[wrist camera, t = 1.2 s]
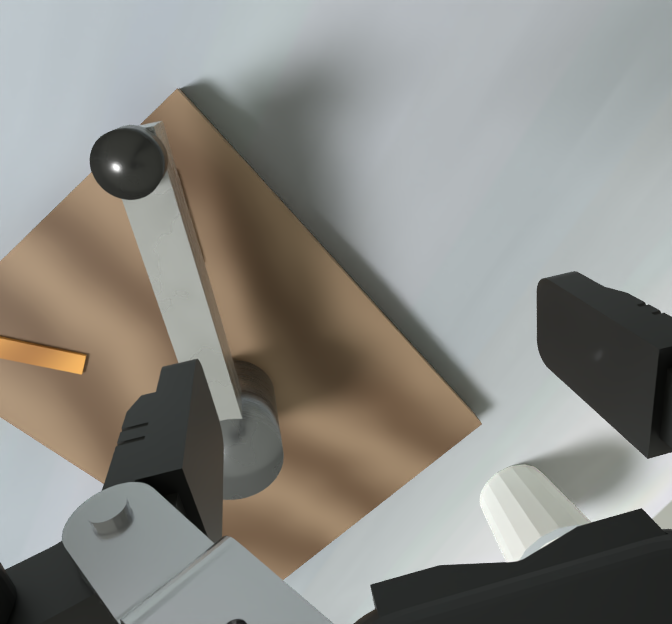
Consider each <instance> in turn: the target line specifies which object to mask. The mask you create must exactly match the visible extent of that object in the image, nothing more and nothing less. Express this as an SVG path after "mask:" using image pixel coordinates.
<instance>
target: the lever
mask: <svg viewBox="0 0 672 624" xmlns="http://www.w3.org/2000/svg"><path fill="white" fill-rule="evenodd" d="M90 167H91V171H92V174H93V176H94V178H95V180H96V182H97V183H98V184H99V185H100V186H101V188H102V189H104V190H105V191H106V192H107V193H109V194H111V195H112V196H114V197H117V198H120V199H122V201H123V204H124V207H125V210H126V213H127V216H128V219H129V222H130V224H131V227H132V230H133V233H134V236H135V239H136V242H137V245H138V248H139V250H140V253H141V256H142V259H143V262H144V265H145V268H146V271H147V273H148V276H149V279H150V282H151V285H152V288H153V291H154V294H155V297H156V299H157V302H158V305H159V308H160V311H161V314H162V317H163V320H164V323H165V325H166V328H167V331H168V334H169V337H170V340H171V343H172V346H173V349H174V351H175V354H176V357H177V360H178V363H180V362H185V361H189V360H193V359H198V360H199V361H200V363H201V365H202V367H203V370H204V374H205V377H206V380H207V383H208V386H209V389H210V392H211V395H212V399H213V402H214V405H215V408H216V411H217V414H218V417H219V421H220V425H221V429H222V435H223V442H224V465H223V500H236V499H243V498H247V497H250V496H253V495H255V494H257V493H259V492H261V491H263V490H264V489H265V488H267V487H268V486H269V485H270V484H271V483H272V482H273V481H274V480H275V479H276V478H277V476H278V474H279V473H280V471H281V468H282V465H283V459H284V453H283V446H282V439H281V433H280V426H279V419H278V412H277V405H276V398H275V391H274V386H273V383H272V381H271V379H270V378H269V376H268V375H267V374H266V373H265V372H264V371H263V370H262V369H261V368H259V367H258V366H256V365H254V364H252V363H249V362H245V361H240V360H233V358H232V355H231V351H230V348H229V344H228V341H227V338H226V334H225V331H224V327H223V324H222V321H221V317H220V314H219V310H218V307H217V304H216V300H215V297H214V294H213V290H212V287H211V283H210V280H209V277H208V273H207V270H206V266H205V263H204V260H203V256H202V253H201V249H200V246H199V243H198V239H197V236H196V233H195V229H194V226H193V222H192V219H191V216H190V212H189V209H188V205H187V202H186V199H185V195H184V192H183V189H182V185H181V182H180V178H179V175H178V172H177V168H176V165H175V161H174V158H173V155H172V151H171V148H170V144H169V141H168V138H167V134H166V131H165V128H164V124H163V121H159V122H154V123H148V124H143V125H138V126H135V125H127V126H123V127H120V128H117V129H115V130H113V131H110V132H108V133H106V134H104V135H102V136H100V138H99V139H98V140H97V141H96V142H95V144H94V146H93V148H92V150H91V154H90Z"/></svg>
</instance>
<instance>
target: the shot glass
mask: <svg viewBox="0 0 672 624" xmlns="http://www.w3.org/2000/svg"><path fill="white" fill-rule="evenodd" d="M480 506H481V508H482V510H483V513H484V515H485V517H486V519H487V522H488V524H489V526H490V528H491V530H492V533H493V535H494V537H495V539H496V541H497V544H498V546H499V548H500V550H501V552H502V555H503V557H504V559H505V561H506V562H515V561H519V560H522V559H524V558H526V557H528V556H529V555H531V554H533V553H534V552H536V551H538V550H539V549H541V548H543V547H544V546H546V545H548V544H549V543H551V542H553V541H554V540H556V539H557V538H559V537H561V536H562V535H564V534H566V533H567V532H569V531H571V530H572V529H574V528H576V527H577V526H581V525H584V524H588V523H591V521H590V520H589V519H588V518H587V517H586V516H585V515H584V514H583V513H582V512H581V511H580V510H579V509H578V508H577V507H576V506H575V505H574V504H573V503H572V502H571V501H570V500H569V499H568V498H567V497H566V496H565V495H564V494H563V493H562V492H561V491H560V490H559V489H558V488H557V487H556V486H555V485H554V484H553V483H552V482H551V481H550V480H549V479H548V478H547V477H546V476H545V475H544V474H543V473H542V472H541V471H540V470H538V469H537V468H536V467H534V466H530V465H525V464H521V465H514V466H509V467H507V468H505V469H503V470H501V471H499V472H497V473H496V474H495V475H494V476H493V477H492V478H491V479H489V480H488V481H487V483H486V484H485V486H484V488H483V490H482V491H481V495H480Z"/></svg>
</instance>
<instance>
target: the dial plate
mask: <svg viewBox="0 0 672 624" xmlns="http://www.w3.org/2000/svg"><path fill="white" fill-rule="evenodd" d="M159 121H163V124H164V128H165V131H166V134H167V138H168V141H169V144H170V148H171V151H172V155H173V158H174V161H175V165H176V168H177V172H178V175H179V178H180V182H181V185H182V189H183V192H184V195H185V199H186V202H187V205H188V209H189V212H190V216H191V219H192V222H193V226H194V229H195V233H196V236H197V239H198V243H199V246H200V249H201V253H202V256H203V260H204V263H205V266H206V270H207V273H208V277H209V280H210V283H211V287H212V290H213V294H214V297H215V300H216V304H217V307H218V310H219V314H220V317H221V321H222V324H223V327H224V331H225V334H226V338H227V341H228V344H229V348H230V351H231V355H232V358H233V360H240V361H245V362H249V363H252V364H254V365H256V366H258V367H259V368H261V369H262V370H263V371H264V372H265V373H266V374H267V375H268V376H269V378H270V379H271V381H272V383H273V386H274V391H275V398H276V405H277V412H278V419H279V426H280V433H281V439H282V446H283V453H284V459H283V465H282V468H281V471H280V473H279V474H278V476H277V478H276V479H275V480H274V481H273V482H272V483H271V484H270V485H269V486H268V487H267V488H265V489H264V490H263V491H261V492H259V493H257V494H255V495H253V496H250V497H247V498H243V499H236V500H223V517H222V537H223V536H230V537H232V538H233V539H235V540H236V541H237V542H239V543H240V544H241V545H242V546H243V547H245V548H246V549H247V550H248V551H249V552H250V553H252V554H253V555H254V556H255V557H256V558H257V559H259V560H260V561H261V562H262V563H263V564H264V565H266V566H267V567H268V568H269V569H270V570H271V571H273V572H274V573H275V574H276V575H277V576H278V577H280V578H281V579H282V580H284V579H285V578H286V577H287V576H289V575H290V574H291V573H293V572H294V571H295V570H296V569H298V568H299V567H300V566H302V565H303V564H304V563H305V562H307V561H308V560H309V559H310V558H312V557H313V556H314V555H316V554H317V553H318V552H319V551H321V550H322V549H323V548H324V547H326V546H327V545H328V544H330V543H331V542H332V541H333V540H335V539H336V538H337V537H339V536H340V535H341V534H342V533H344V532H345V531H346V530H347V529H349V528H350V527H351V526H353V525H354V524H355V523H356V522H358V521H359V520H360V519H361V518H363V517H364V516H365V515H367V514H368V513H369V512H370V511H372V510H373V509H374V508H376V507H377V506H378V505H379V504H381V503H382V502H383V501H384V500H386V499H387V498H388V497H390V496H391V495H392V494H393V493H395V492H396V491H397V490H398V489H400V488H401V487H402V486H404V485H405V484H406V483H407V482H409V481H410V480H411V479H413V478H414V477H415V476H416V475H418V474H419V473H420V472H421V471H423V470H424V469H425V468H427V467H428V466H429V465H430V464H432V463H433V462H434V461H435V460H437V459H438V458H439V457H441V456H442V455H443V454H444V453H446V452H447V451H448V450H450V449H451V448H452V447H453V446H455V445H456V444H457V443H458V442H460V441H461V440H462V439H464V438H465V437H466V436H467V435H469V434H470V433H471V432H472V431H474V430H475V429H476V428H478V427H479V426H480V425H481V424H482V423H481V422H480V420H479V419H478V418H477V416H476V415H475V414H474V412H473V411H472V410H471V409H470V408H469V407H468V406H467V404H466V403H465V402H464V401H463V400H462V399H461V398H460V397H459V396H458V395H457V393H456V392H455V391H454V390H453V389H452V388H451V387H450V386H449V385H448V384H447V382H446V381H445V380H444V379H443V378H442V377H441V376H440V375H439V374H438V373H437V371H436V370H435V369H434V368H433V367H432V366H431V365H430V364H429V363H428V361H427V360H426V359H425V358H424V357H423V356H422V355H421V354H420V353H419V352H418V350H417V349H416V348H415V347H414V346H413V345H412V344H411V343H410V342H409V341H408V339H407V338H406V337H405V336H404V335H403V334H402V333H401V332H400V331H399V330H398V328H397V327H396V326H395V325H394V324H393V323H392V322H391V321H390V320H389V319H388V317H387V316H386V315H385V314H384V313H383V312H382V311H381V310H380V309H379V308H378V306H377V305H376V304H375V303H374V302H373V301H372V300H371V299H370V298H369V297H368V295H367V294H366V293H365V292H364V291H363V290H362V289H361V288H360V287H359V286H358V284H357V283H356V282H355V281H354V280H353V279H352V278H351V277H350V276H349V274H348V273H347V272H346V271H345V270H344V269H343V268H342V267H341V266H340V265H339V263H338V262H337V261H336V260H335V259H334V258H333V257H332V256H331V255H330V254H329V252H328V251H327V250H326V249H325V248H324V247H323V246H322V245H321V244H320V243H319V241H318V240H317V239H316V238H315V237H314V236H313V235H312V234H311V233H310V232H309V230H308V229H307V228H306V227H305V226H304V225H303V224H302V223H301V222H300V221H299V219H298V218H297V217H296V216H295V215H294V214H293V213H292V212H291V211H290V210H289V208H288V207H287V206H286V205H285V204H284V203H283V202H282V201H281V200H280V199H279V197H278V196H277V195H276V194H275V193H274V192H273V191H272V190H271V189H270V188H269V186H268V185H267V184H266V183H265V182H264V181H263V180H262V179H261V178H260V176H259V175H258V174H257V173H256V172H255V171H254V170H253V169H252V168H251V167H250V165H249V164H248V163H247V162H246V161H245V160H244V159H243V158H242V157H241V156H240V154H239V153H238V152H237V151H236V150H235V149H234V148H233V147H232V146H231V145H230V143H229V142H228V141H227V140H226V139H225V138H224V137H223V136H222V135H221V134H220V132H219V131H218V130H217V129H216V128H215V127H214V126H213V125H212V124H211V123H210V121H209V120H208V119H207V118H206V117H205V116H204V115H203V114H202V113H201V112H200V110H199V109H198V108H197V107H196V106H195V105H194V104H193V103H192V102H191V101H190V99H189V98H188V97H187V96H186V95H185V94H184V93H183V92H182V91H181V89H180V88H179V89H176V90H175V91H174V92H173V93H172V94H171V95H170V96H169V97H168V98H167V99H166V100H165V101H164V102H163V103H162V104H161V105H160V106H159V107H158V108H157V109H156V110H155V111H154V112H153V113H152V114H151V115H150V116H149V117H148V118H147V119H145V120H144V121H143V122H142V123H141V124H140V125H143V124H148V123H154V122H159ZM176 363H178V360H177V357H176V354H175V351H174V349H173V346H172V343H171V340H170V337H169V334H168V331H167V328H166V325H165V323H164V320H163V317H162V314H161V311H160V308H159V305H158V302H157V299H156V297H155V294H154V291H153V288H152V285H151V282H150V279H149V276H148V273H147V271H146V268H145V265H144V262H143V259H142V256H141V253H140V250H139V248H138V245H137V242H136V239H135V236H134V233H133V230H132V227H131V224H130V222H129V219H128V216H127V213H126V210H125V207H124V204H123V201H122V199H120V198H117V197H114V196H112V195H111V194H109V193H107V192H106V191H105V190H104V189H102V188H101V186H100V185H99V184H98V183H97V182H96V180H95V178H94V176H93V174H92V172H91V173H90V174H89V175H88V176H87V177H86V178H85V179H84V180H83V181H82V182H81V183H80V184H79V185H78V186H77V187H76V188H75V189H74V190H73V191H72V192H71V193H70V194H69V195H68V196H67V197H66V198H65V199H64V200H63V201H62V202H61V203H60V204H58V205H57V206H56V207H55V208H54V209H53V210H52V211H51V212H50V213H49V214H48V215H47V216H46V217H45V218H44V219H43V220H42V221H41V222H40V223H39V224H38V225H37V226H36V227H35V228H34V229H33V230H32V231H31V232H30V233H29V234H28V235H27V236H26V237H25V238H24V239H23V240H22V241H21V242H20V243H19V244H18V245H17V246H16V247H14V248H13V249H12V250H11V251H10V252H9V253H8V254H7V255H6V256H5V257H4V258H3V259H2V260H1V261H0V417H1V418H3V419H4V420H6V421H7V422H9V423H10V424H12V425H13V426H15V427H17V428H18V429H20V430H21V431H23V432H24V433H26V434H27V435H29V436H30V437H32V438H34V439H35V440H37V441H38V442H40V443H41V444H43V445H44V446H46V447H47V448H49V449H51V450H52V451H54V452H55V453H57V454H58V455H60V456H61V457H63V458H64V459H66V460H68V461H69V462H71V463H72V464H74V465H75V466H77V467H78V468H80V469H81V470H83V471H85V472H86V473H88V474H89V475H91V476H92V477H94V478H95V479H97V480H98V481H100V482H102V483H103V484H104V482H105V479H106V476H107V473H108V470H109V466H110V463H111V460H112V457H113V454H114V451H115V447H116V446H118V445H117V441H118V438H119V435H120V432H122V429H121V428H122V425H123V422H124V419H125V415H126V412H127V411H128V410H129V409H130V408H131V406H132V405H133V404H134V403H135V402H136V401H137V400H138V398H139V397H140V396H141V395H145V394H149V393H153V392H156V389H157V385H158V381H159V376H160V372H161V369H162V367H163V366H168V365H172V364H176Z"/></svg>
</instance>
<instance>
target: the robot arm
mask: <svg viewBox="0 0 672 624" xmlns="http://www.w3.org/2000/svg"><path fill="white" fill-rule="evenodd" d="M537 345H538V350H539V353H540V356H541V358H542V360H543V362H544V364H545V365H546V366H547V367H548V368H549V369H550V370H551V371H552V372H553V373H554V374H555V375H556V376H557V377H559V378H560V379H561V380H562V381H563V382H564V383H565V384H566V385H567V386H568V387H570V388H571V389H572V390H573V391H574V392H575V393H576V394H577V395H578V396H579V397H581V398H582V399H583V400H584V401H585V402H586V403H587V404H588V405H589V406H590V407H591V408H593V409H594V410H595V411H596V412H597V413H598V414H599V415H600V416H601V417H602V418H604V419H605V420H606V421H607V422H608V423H609V424H610V425H611V426H612V427H613V428H615V429H616V430H617V431H618V432H619V433H620V434H621V435H622V436H623V437H624V438H626V439H627V440H628V441H629V442H630V443H631V444H632V445H633V446H634V447H635V448H637V449H638V450H639V451H640V452H641V453H642V454H643V455H644V456H645V457H646V458H648V459H649V458H652V457H656V456H660V455H663V454H667V453H671V452H672V317H671V316H669V315H667V314H665V313H661V312H660V310H658V309H656V308H654V307H653V306H651V305H646V304H645V302H643V301H641V300H640V299H638V298H636V297H634V296H632V295H630V294H628V293H626V292H622V291H618V290H614V289H611V288H607V287H604V286H602V285H600V284H598V283H596V282H595V281H593V280H591V279H589V278H588V277H586V276H584V275H582V274H580V273H578V272H575V271H574V272H569V273H565V274H560V275H556V276H552V277H548V278H543V279H541V280H540V281H539V283H538V286H537ZM121 429H122V432H120V435H119V438H118V441H117V445H118V446H116V447H115V451H114V454H113V457H112V460H111V463H110V466H109V470H108V473H107V476H106V479H105V482H104V486H103V489H102V491H100V492H99V493H97V494H95V495H93V496H92V497H91V498H89V499H88V500H86V501H85V502H84V503H83V504H81V505H80V506H79V507H78V508H77V509H76V510H75V511H74V512H73V514H72V515H71V516H70V517H69V519H68V521H67V522H66V524H65V526H64V529H63V533H62V541H61V542H59V543H58V544H56V545H54V546H52V547H50V548H49V549H47V550H45V551H43V552H41V553H38V554H36V555H34V556H32V557H30V558H28V559H26V560H24V561H22V562H20V563H18V564H16V565H14V566H12V567H10V568H8V569H6V570H5V569H4V568H3V566H2V564H1V563H0V624H333V623H332V622H331V621H330V620H329V619H328V618H326V617H325V616H324V615H323V614H322V613H321V612H319V611H318V610H317V609H316V608H315V607H314V606H312V605H311V604H310V603H309V602H308V601H307V600H305V599H304V598H303V597H302V596H301V595H300V594H298V593H297V592H296V591H295V590H294V589H293V588H291V587H290V586H289V585H288V584H287V583H285V582H284V581H283V580H282V579H281V578H280V577H278V576H277V575H276V574H275V573H274V572H273V571H271V570H270V569H269V568H268V567H267V566H266V565H264V564H263V563H262V562H261V561H260V560H259V559H257V558H256V557H255V556H254V555H253V554H252V553H250V552H249V551H248V550H247V549H246V548H245V547H243V546H242V545H241V544H240V543H239V542H237V541H236V540H235V539H233V538H232V537H230V536H223V537H222V517H223V465H224V442H223V435H222V429H221V425H220V421H219V417H218V414H217V411H216V408H215V405H214V402H213V399H212V395H211V392H210V389H209V386H208V383H207V380H206V377H205V374H204V370H203V367H202V365H201V363H200V361H199V360H198V359H193V360H189V361H185V362H180V363H176V364H172V365H168V366H163V367H162V369H161V372H160V376H159V381H158V385H157V389H156V392H153V393H149V394H145V395H141V396H140V397H139V398H138V400H137V401H136V402H135V403H134V404H133V405H132V406H131V408H130V409H129V410H128V411H127V412H126V415H125V419H124V422H123V425H122V428H121ZM370 586H371V591H372V596H373V601H374V605H375V609H374V610H373V611H371V612H369V613H368V614H366V615H364V616H363V617H362V618H360V619H359V620H358V621H356V622H355V623H354V624H672V529H661V528H660V527H659V526H658V525H657V524H656V523H655V522H654V521H653V520H652V519H651V517H650V516H649V515H648V514H647V513H646V512H645V511H644V510H643V509H642V508H641V509H638V510H634V511H630V512H627V513H623V514H620V515H616V516H613V517H609V518H606V519H602V520H599V521H595V522H591V523H588V524H584V525H581V526H577V527H576V528H574V529H572V530H571V531H569V532H567V533H566V534H564V535H562V536H561V537H559V538H557V539H556V540H554V541H553V542H551V543H549V544H548V545H546V546H544V547H543V548H541V549H539V550H538V551H536V552H534V553H533V554H531V555H529V556H528V557H526V558H524V559H522V560H519V561H515V562H501V563H479V564H457V565H439V566H435V567H432V568H428V569H425V570H421V571H418V572H414V573H410V574H407V575H403V576H400V577H396V578H393V579H389V580H386V581H382V582H379V583H375V584H371V585H370Z"/></svg>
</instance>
